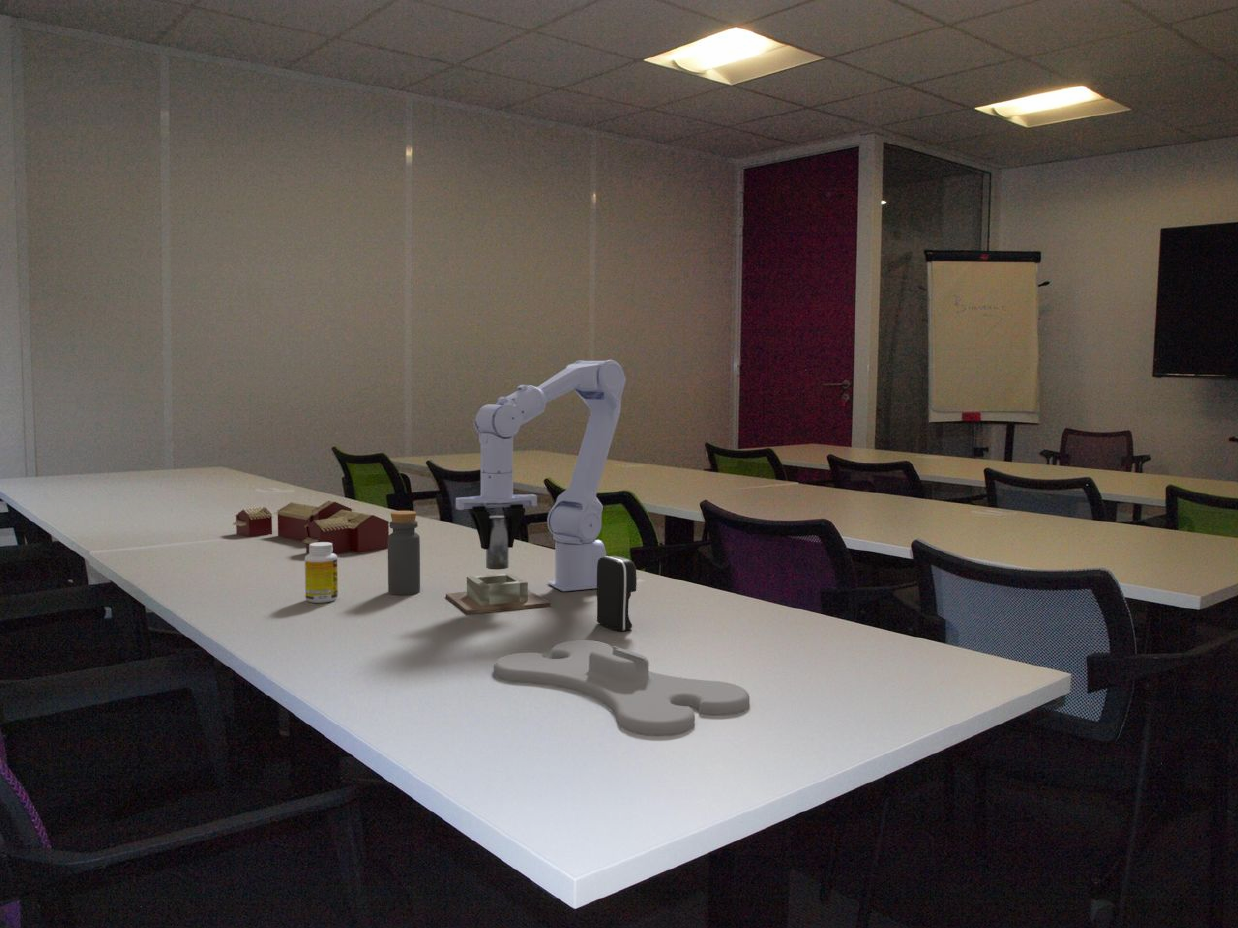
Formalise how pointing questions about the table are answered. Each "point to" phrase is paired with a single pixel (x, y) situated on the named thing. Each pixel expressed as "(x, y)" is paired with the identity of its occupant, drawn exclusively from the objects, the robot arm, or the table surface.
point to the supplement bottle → (321, 573)
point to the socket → (496, 594)
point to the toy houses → (319, 526)
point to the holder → (625, 686)
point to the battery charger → (615, 591)
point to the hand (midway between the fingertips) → (496, 547)
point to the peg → (498, 543)
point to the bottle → (403, 554)
